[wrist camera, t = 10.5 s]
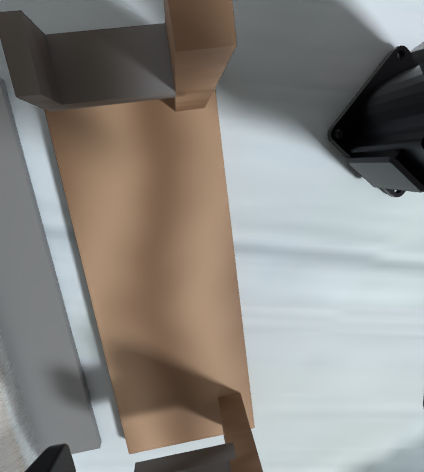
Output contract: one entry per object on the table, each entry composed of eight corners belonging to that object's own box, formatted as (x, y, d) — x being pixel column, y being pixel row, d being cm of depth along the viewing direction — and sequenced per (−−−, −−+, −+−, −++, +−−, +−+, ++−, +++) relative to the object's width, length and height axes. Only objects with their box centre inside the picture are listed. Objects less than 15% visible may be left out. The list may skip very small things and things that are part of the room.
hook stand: (207, 48, 17) (250, -109, 7) (251, 416, 23) (306, 601, 13) (40, 65, 16) (-163, -84, 6) (131, 441, 22) (96, 656, 12)
